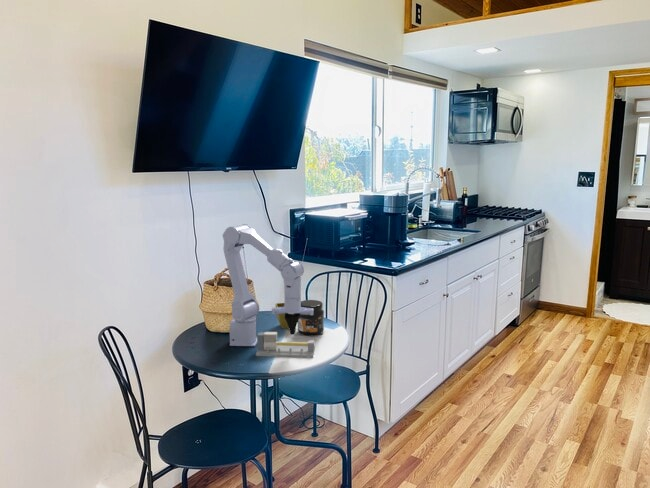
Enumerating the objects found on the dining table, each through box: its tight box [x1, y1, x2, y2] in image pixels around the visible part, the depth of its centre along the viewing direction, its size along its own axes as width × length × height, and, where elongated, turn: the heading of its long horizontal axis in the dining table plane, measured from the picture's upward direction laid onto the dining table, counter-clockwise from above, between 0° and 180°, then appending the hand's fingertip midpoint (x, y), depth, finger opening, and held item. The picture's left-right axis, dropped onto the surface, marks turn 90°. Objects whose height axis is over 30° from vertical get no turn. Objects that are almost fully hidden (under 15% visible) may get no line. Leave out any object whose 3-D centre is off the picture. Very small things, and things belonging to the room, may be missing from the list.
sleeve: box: [264, 331, 279, 350], centre depth 175 cm, size 4×3×6 cm
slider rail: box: [255, 331, 316, 358], centre depth 175 cm, size 20×9×6 cm, turn 87°
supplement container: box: [297, 299, 325, 337], centre depth 194 cm, size 10×10×12 cm
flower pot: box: [275, 302, 298, 329], centre depth 201 cm, size 9×9×9 cm
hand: (292, 333), depth 174 cm, fingers closed
